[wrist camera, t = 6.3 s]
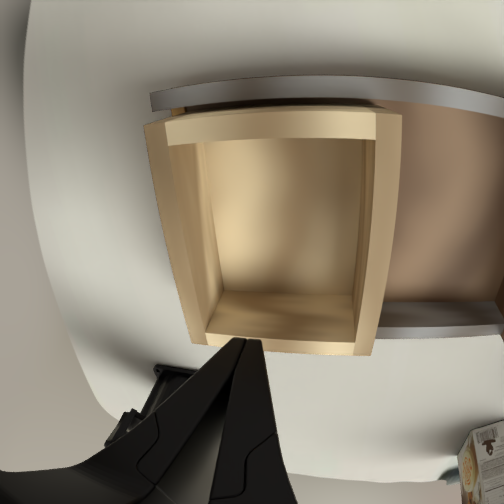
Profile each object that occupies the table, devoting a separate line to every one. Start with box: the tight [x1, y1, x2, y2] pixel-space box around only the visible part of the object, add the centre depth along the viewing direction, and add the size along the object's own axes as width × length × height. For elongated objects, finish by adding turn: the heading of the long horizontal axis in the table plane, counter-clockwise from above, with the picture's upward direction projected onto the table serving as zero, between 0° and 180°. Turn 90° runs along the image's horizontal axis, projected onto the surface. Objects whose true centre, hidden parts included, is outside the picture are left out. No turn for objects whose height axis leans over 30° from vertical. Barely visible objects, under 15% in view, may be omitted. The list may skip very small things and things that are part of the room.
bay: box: [150, 75, 504, 341], centre depth 15 cm, size 22×15×6 cm, turn 95°
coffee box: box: [457, 420, 504, 504], centre depth 22 cm, size 9×6×16 cm
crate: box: [144, 103, 402, 356], centre depth 16 cm, size 10×12×5 cm
